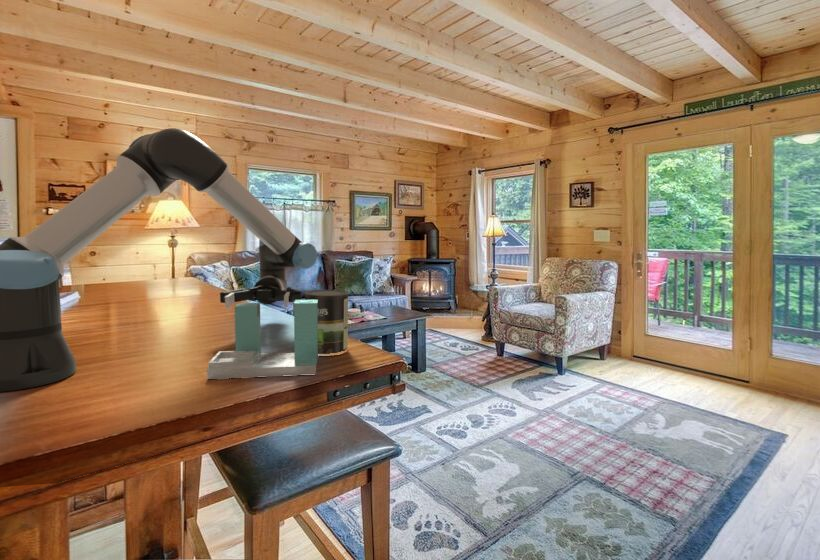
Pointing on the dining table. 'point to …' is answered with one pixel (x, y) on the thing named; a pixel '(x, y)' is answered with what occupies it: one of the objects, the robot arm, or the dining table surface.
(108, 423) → the dining table surface
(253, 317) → the mint green block
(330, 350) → the coffee can
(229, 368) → the grey base with post
